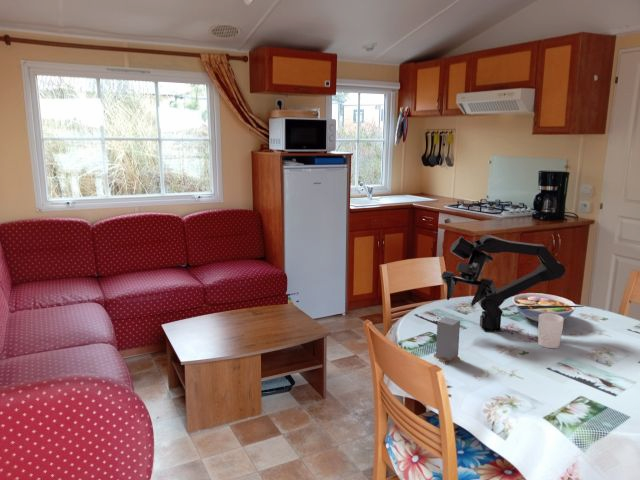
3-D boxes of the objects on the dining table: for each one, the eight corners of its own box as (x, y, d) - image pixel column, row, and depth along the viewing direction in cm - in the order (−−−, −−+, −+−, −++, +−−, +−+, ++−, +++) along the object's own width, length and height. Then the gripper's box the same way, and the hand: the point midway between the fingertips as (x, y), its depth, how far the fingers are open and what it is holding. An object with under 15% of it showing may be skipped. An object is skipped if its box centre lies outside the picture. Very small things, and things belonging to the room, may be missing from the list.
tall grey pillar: (443, 351, 167) (445, 316, 165) (458, 355, 164) (460, 320, 162) (435, 356, 164) (437, 321, 161) (450, 360, 160) (452, 325, 158)
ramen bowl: (558, 309, 209) (560, 290, 207) (589, 330, 186) (592, 309, 185) (499, 310, 208) (500, 291, 206) (522, 331, 185) (524, 310, 184)
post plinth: (449, 353, 168) (450, 338, 167) (460, 361, 162) (461, 345, 161) (433, 356, 166) (434, 340, 165) (444, 363, 160) (444, 347, 159)
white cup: (561, 342, 176) (563, 315, 174) (561, 350, 169) (564, 322, 167) (536, 338, 180) (539, 311, 177) (535, 346, 173) (538, 319, 170)
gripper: (444, 249, 183) (428, 285, 178) (494, 257, 171) (478, 296, 166) (454, 266, 191) (438, 301, 185) (502, 274, 179) (487, 312, 173)
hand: (459, 302), depth 177 cm, fingers open, 9 cm apart
